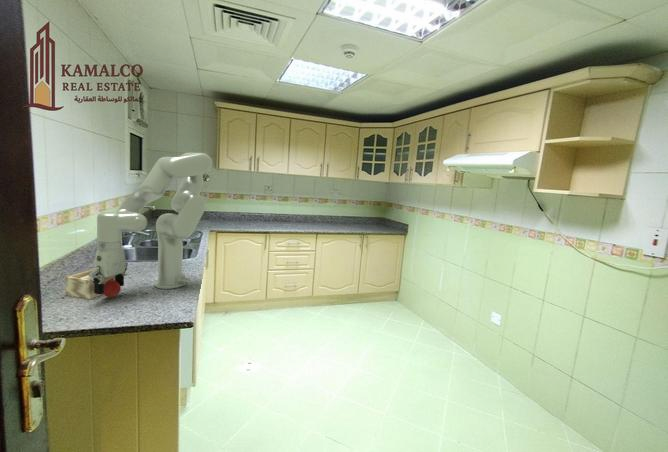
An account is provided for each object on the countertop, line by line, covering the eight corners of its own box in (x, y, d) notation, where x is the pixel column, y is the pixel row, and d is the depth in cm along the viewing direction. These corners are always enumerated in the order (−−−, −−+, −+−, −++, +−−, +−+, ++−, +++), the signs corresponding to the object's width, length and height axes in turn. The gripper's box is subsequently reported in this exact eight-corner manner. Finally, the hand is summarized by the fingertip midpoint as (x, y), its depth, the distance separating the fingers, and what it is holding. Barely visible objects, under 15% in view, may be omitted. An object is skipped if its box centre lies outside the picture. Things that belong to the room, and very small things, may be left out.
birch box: (119, 288, 131) (119, 271, 130) (90, 299, 118) (89, 280, 117) (97, 285, 133) (96, 268, 132) (65, 295, 120) (64, 276, 119)
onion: (99, 301, 117) (98, 280, 116) (106, 295, 122) (105, 275, 121) (117, 300, 119) (117, 280, 117) (123, 295, 124) (122, 275, 123)
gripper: (99, 251, 109) (100, 298, 111) (135, 242, 126) (135, 283, 128) (79, 248, 109) (80, 296, 111) (118, 240, 126) (118, 281, 128)
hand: (109, 289), depth 120 cm, fingers open, 9 cm apart
